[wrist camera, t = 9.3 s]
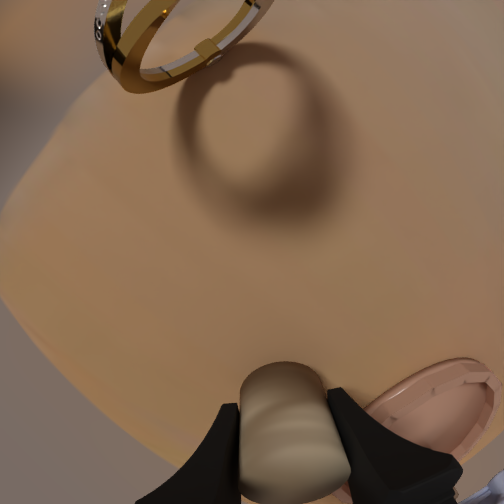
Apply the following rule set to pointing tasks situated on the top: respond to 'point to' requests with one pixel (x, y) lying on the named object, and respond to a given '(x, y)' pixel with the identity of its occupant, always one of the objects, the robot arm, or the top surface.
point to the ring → (143, 30)
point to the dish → (439, 408)
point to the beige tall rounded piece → (288, 437)
